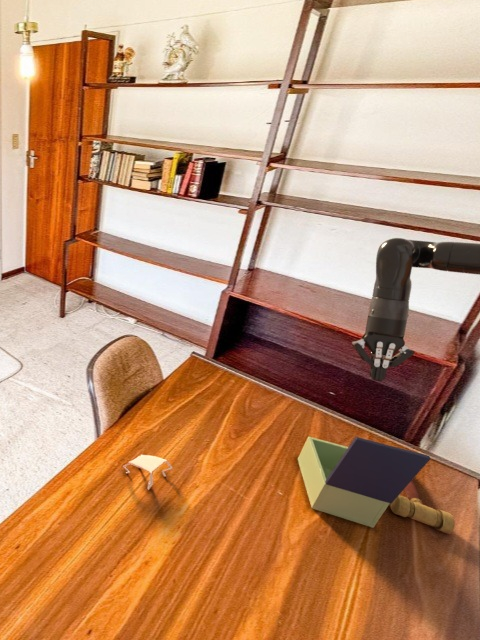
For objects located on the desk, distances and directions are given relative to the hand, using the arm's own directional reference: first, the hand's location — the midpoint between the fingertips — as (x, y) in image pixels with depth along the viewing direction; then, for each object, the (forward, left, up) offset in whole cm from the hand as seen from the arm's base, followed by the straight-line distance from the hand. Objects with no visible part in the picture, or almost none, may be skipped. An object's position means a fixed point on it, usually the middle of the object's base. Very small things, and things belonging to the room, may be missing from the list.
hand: (376, 380), depth 104 cm
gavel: (-15, +5, -25) cm, 29 cm away
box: (-1, +19, -25) cm, 31 cm away
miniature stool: (+34, +50, -25) cm, 65 cm away
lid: (-5, +27, -7) cm, 28 cm away
